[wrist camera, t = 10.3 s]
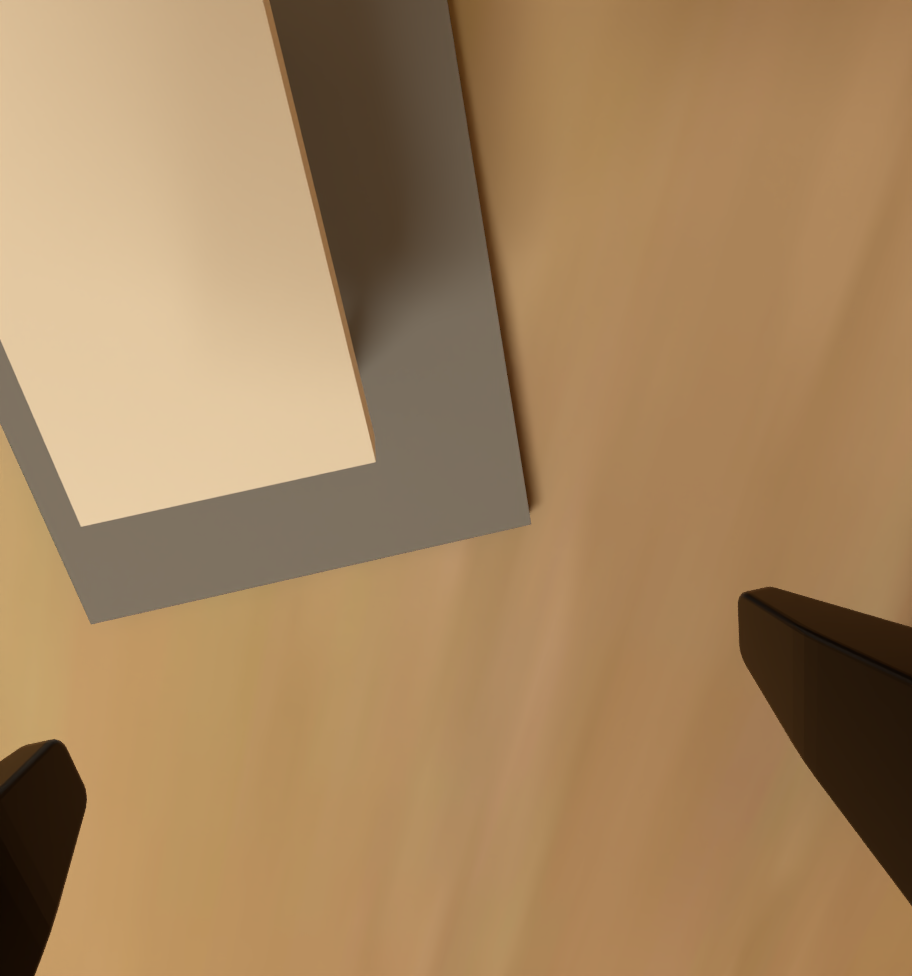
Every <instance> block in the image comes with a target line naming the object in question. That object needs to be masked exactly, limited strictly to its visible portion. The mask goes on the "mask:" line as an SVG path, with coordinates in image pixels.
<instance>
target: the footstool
mask: <svg viewBox="0 0 912 976" xmlns="http://www.w3.org/2000/svg"><path fill="white" fill-rule="evenodd" d="M0 340H1V343H2V345H3V347H4V350H5V352H6V354H7V357H8V359H9V361H10V363H11V366H12V368H13V370H14V373H15V375H16V377H17V380H18V382H19V384H20V387H21V389H22V391H23V394H24V396H25V398H26V401H27V403H28V405H29V407H30V410H31V412H32V414H33V417H34V419H35V421H36V424H37V426H38V428H39V431H40V433H41V435H42V438H43V440H44V442H45V445H46V447H47V449H48V451H49V454H50V456H51V458H52V461H53V463H54V465H55V468H56V470H57V472H58V475H59V477H60V479H61V482H62V484H63V486H64V489H65V491H66V493H67V496H68V498H69V500H70V502H71V505H72V507H73V509H74V512H75V514H76V516H77V519H78V521H79V523H80V526H81V527H83V526H87V525H92V524H96V523H101V522H105V521H110V520H114V519H119V518H124V517H128V516H133V515H137V514H142V513H146V512H151V511H155V510H160V509H165V508H169V507H174V506H178V505H183V504H187V503H192V502H196V501H201V500H206V499H210V498H215V497H219V496H224V495H228V494H233V493H237V492H242V491H247V490H251V489H256V488H260V487H265V486H269V485H274V484H278V483H283V482H288V481H292V480H297V479H301V478H306V477H310V476H315V475H319V474H324V473H329V472H333V471H338V470H342V469H347V468H351V467H356V466H360V465H365V464H370V463H374V462H376V454H375V436H374V432H373V427H372V423H371V419H370V415H369V411H368V407H367V403H366V398H365V394H364V390H363V386H362V382H361V378H360V374H359V370H358V365H357V361H356V357H355V353H354V349H353V345H352V341H351V336H350V332H349V328H348V324H347V320H346V316H345V312H344V308H343V303H342V299H341V295H340V291H339V287H338V283H337V279H336V274H335V270H334V266H333V262H332V258H331V254H330V250H329V246H328V241H327V237H326V233H325V229H324V225H323V221H322V217H321V212H320V208H319V204H318V200H317V196H316V192H315V188H314V184H313V179H312V175H311V171H310V167H309V163H308V159H307V155H306V150H305V146H304V142H303V138H302V134H301V130H300V126H299V122H298V117H297V113H296V109H295V105H294V101H293V97H292V93H291V88H290V84H289V80H288V76H287V72H286V68H285V64H284V59H283V55H282V51H281V47H280V43H279V39H278V35H277V31H276V26H275V22H274V18H273V14H272V10H271V6H270V2H269V0H0Z"/></svg>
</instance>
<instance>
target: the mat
mask: <svg viewBox="0 0 912 976" xmlns="http://www.w3.org/2000/svg"><path fill="white" fill-rule="evenodd" d="M269 2H270V6H271V10H272V14H273V18H274V22H275V26H276V31H277V35H278V39H279V43H280V47H281V51H282V55H283V59H284V64H285V68H286V72H287V76H288V80H289V84H290V88H291V93H292V97H293V101H294V105H295V109H296V113H297V117H298V122H299V126H300V130H301V134H302V138H303V142H304V146H305V150H306V155H307V159H308V163H309V167H310V171H311V175H312V179H313V184H314V188H315V192H316V196H317V200H318V204H319V208H320V212H321V217H322V221H323V225H324V229H325V233H326V237H327V241H328V246H329V250H330V254H331V258H332V262H333V266H334V270H335V274H336V279H337V283H338V287H339V291H340V295H341V299H342V303H343V308H344V312H345V316H346V320H347V324H348V328H349V332H350V336H351V341H352V345H353V349H354V353H355V357H356V361H357V365H358V370H359V374H360V378H361V382H362V386H363V390H364V394H365V398H366V403H367V407H368V411H369V415H370V419H371V423H372V427H373V432H374V436H375V454H376V462H374V463H370V464H365V465H360V466H356V467H351V468H347V469H342V470H338V471H333V472H329V473H324V474H319V475H315V476H310V477H306V478H301V479H297V480H292V481H288V482H283V483H278V484H274V485H269V486H265V487H260V488H256V489H251V490H247V491H242V492H237V493H233V494H228V495H224V496H219V497H215V498H210V499H206V500H201V501H196V502H192V503H187V504H183V505H178V506H174V507H169V508H165V509H160V510H155V511H151V512H146V513H142V514H137V515H133V516H128V517H124V518H119V519H114V520H110V521H105V522H101V523H96V524H92V525H87V526H83V527H81V526H80V523H79V521H78V519H77V516H76V514H75V512H74V509H73V507H72V505H71V502H70V500H69V498H68V496H67V493H66V491H65V489H64V486H63V484H62V482H61V479H60V477H59V475H58V472H57V470H56V468H55V465H54V463H53V461H52V458H51V456H50V454H49V451H48V449H47V447H46V445H45V442H44V440H43V438H42V435H41V433H40V431H39V428H38V426H37V424H36V421H35V419H34V417H33V414H32V412H31V410H30V407H29V405H28V403H27V401H26V398H25V396H24V394H23V391H22V389H21V387H20V384H19V382H18V380H17V377H16V375H15V373H14V370H13V368H12V366H11V363H10V361H9V359H8V357H7V354H6V352H5V350H4V347H3V345H2V343H1V340H0V424H1V426H2V428H3V431H4V433H5V435H6V437H7V439H8V442H9V444H10V446H11V448H12V450H13V453H14V455H15V457H16V459H17V462H18V464H19V466H20V468H21V470H22V473H23V475H24V477H25V479H26V481H27V484H28V486H29V488H30V490H31V493H32V495H33V497H34V499H35V501H36V504H37V506H38V508H39V510H40V512H41V515H42V517H43V519H44V521H45V524H46V526H47V528H48V530H49V532H50V535H51V537H52V539H53V541H54V543H55V546H56V548H57V550H58V552H59V555H60V557H61V559H62V561H63V563H64V566H65V568H66V570H67V572H68V574H69V577H70V579H71V581H72V583H73V586H74V588H75V590H76V592H77V594H78V597H79V599H80V601H81V603H82V605H83V608H84V610H85V612H86V614H87V617H88V619H89V621H90V623H91V624H95V623H99V622H104V621H108V620H113V619H117V618H121V617H126V616H130V615H135V614H139V613H143V612H148V611H152V610H157V609H161V608H165V607H170V606H174V605H179V604H183V603H187V602H192V601H196V600H201V599H205V598H209V597H214V596H218V595H223V594H227V593H231V592H236V591H240V590H245V589H249V588H253V587H258V586H262V585H267V584H271V583H275V582H280V581H284V580H289V579H293V578H297V577H302V576H306V575H311V574H315V573H319V572H324V571H328V570H333V569H337V568H341V567H346V566H350V565H355V564H359V563H363V562H368V561H372V560H377V559H381V558H385V557H390V556H394V555H399V554H403V553H407V552H412V551H416V550H421V549H425V548H429V547H434V546H438V545H443V544H447V543H451V542H456V541H460V540H465V539H469V538H473V537H478V536H482V535H487V534H491V533H495V532H500V531H504V530H509V529H513V528H517V527H522V526H526V525H531V520H530V514H529V507H528V501H527V495H526V489H525V483H524V476H523V470H522V464H521V458H520V451H519V445H518V439H517V433H516V426H515V420H514V414H513V408H512V401H511V395H510V389H509V383H508V376H507V370H506V364H505V358H504V352H503V345H502V339H501V333H500V327H499V320H498V314H497V308H496V302H495V295H494V289H493V283H492V277H491V270H490V264H489V258H488V252H487V245H486V239H485V233H484V227H483V221H482V214H481V208H480V202H479V196H478V189H477V183H476V177H475V171H474V164H473V158H472V152H471V146H470V139H469V133H468V127H467V121H466V114H465V108H464V102H463V96H462V90H461V83H460V77H459V71H458V65H457V58H456V52H455V46H454V40H453V33H452V27H451V21H450V15H449V8H448V2H447V0H269Z"/></svg>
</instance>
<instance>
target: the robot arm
mask: <svg viewBox="0 0 912 976" xmlns="http://www.w3.org/2000/svg"><path fill="white" fill-rule="evenodd" d="M738 621H739V646H740V652H741V655H742V658H743V660H744V663H745V665H746V666H747V668H748V670H749V671H750V673H751V675H752V676H753V678H754V680H755V681H756V683H757V685H758V686H759V688H760V690H761V691H762V693H763V695H764V696H765V698H766V700H767V702H768V703H769V705H770V707H771V708H772V710H773V712H774V713H775V715H776V717H777V718H778V720H779V722H780V723H781V725H782V727H783V728H784V730H785V732H786V733H787V735H788V737H789V738H790V740H791V742H792V743H793V745H794V747H795V748H796V750H797V751H798V753H799V754H800V756H801V758H802V759H803V761H804V762H805V764H806V765H807V766H808V768H809V769H810V771H811V772H812V773H813V775H814V776H815V778H816V779H817V780H818V782H819V783H820V784H821V786H822V787H823V788H824V790H825V791H826V792H827V794H828V795H829V796H830V798H831V799H832V800H833V802H834V803H835V804H836V806H837V807H838V808H839V810H840V811H841V812H842V814H843V815H844V816H845V818H846V819H847V820H848V822H849V823H850V824H851V826H852V827H853V828H854V830H855V831H856V832H857V834H858V835H859V836H860V838H861V839H862V840H863V841H864V843H865V844H866V845H867V847H868V848H869V849H870V851H871V852H872V853H873V855H874V856H875V857H876V859H877V860H878V861H879V863H880V864H881V865H882V867H883V868H884V869H885V871H886V872H887V873H888V875H889V876H890V877H891V879H892V880H893V881H894V883H895V884H896V885H897V887H898V888H899V889H900V891H901V892H902V893H903V895H904V896H905V897H906V899H907V900H908V901H909V903H910V904H911V905H912V627H909V626H905V625H902V624H899V623H895V622H892V621H888V620H885V619H881V618H878V617H874V616H871V615H867V614H864V613H861V612H857V611H854V610H850V609H847V608H843V607H840V606H836V605H833V604H830V603H826V602H823V601H819V600H816V599H812V598H809V597H805V596H802V595H798V594H795V593H792V592H788V591H785V590H781V589H778V588H774V587H765V588H760V589H756V590H751V591H747V592H744V593H742V594H741V596H740V597H739V600H738ZM86 802H87V795H86V789H85V786H84V784H83V782H82V780H81V777H80V775H79V773H78V771H77V769H76V767H75V765H74V763H73V760H72V758H71V756H70V754H69V752H68V750H67V748H66V746H65V745H64V744H63V743H62V742H61V741H59V740H55V739H52V740H47V741H42V742H38V743H33V744H28V745H25V746H23V747H21V748H19V749H18V750H16V751H15V752H13V753H12V754H10V755H9V756H7V757H6V758H4V759H3V760H2V761H0V976H35V973H36V971H37V968H38V965H39V963H40V960H41V957H42V955H43V952H44V949H45V947H46V944H47V941H48V938H49V935H50V933H51V930H52V926H53V923H54V920H55V917H56V913H57V910H58V907H59V903H60V900H61V896H62V892H63V889H64V885H65V882H66V878H67V874H68V871H69V867H70V864H71V860H72V856H73V853H74V849H75V845H76V842H77V838H78V835H79V831H80V827H81V824H82V820H83V817H84V813H85V809H86Z"/></svg>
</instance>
